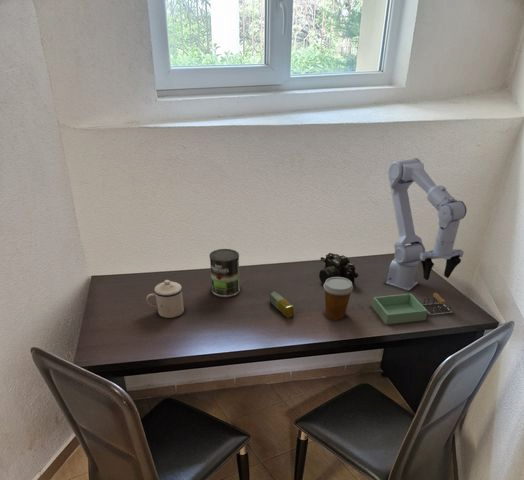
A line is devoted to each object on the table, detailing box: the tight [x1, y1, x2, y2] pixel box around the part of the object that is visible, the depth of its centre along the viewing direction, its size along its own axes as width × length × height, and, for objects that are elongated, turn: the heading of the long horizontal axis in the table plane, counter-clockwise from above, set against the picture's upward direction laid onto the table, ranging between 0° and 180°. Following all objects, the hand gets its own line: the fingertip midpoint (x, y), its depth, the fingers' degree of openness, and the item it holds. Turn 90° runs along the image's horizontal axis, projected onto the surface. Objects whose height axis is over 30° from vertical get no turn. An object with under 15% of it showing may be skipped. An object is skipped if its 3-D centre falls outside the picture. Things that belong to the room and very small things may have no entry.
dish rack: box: [421, 292, 454, 316], centre depth 157 cm, size 8×7×5 cm
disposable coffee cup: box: [322, 277, 354, 321], centre depth 152 cm, size 10×10×12 cm
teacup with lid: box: [146, 279, 185, 319], centre depth 153 cm, size 12×9×12 cm
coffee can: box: [209, 248, 241, 298], centre depth 165 cm, size 10×10×14 cm
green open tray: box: [371, 292, 428, 325], centre depth 155 cm, size 14×12×4 cm
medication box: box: [269, 290, 295, 318], centre depth 157 cm, size 12×3×4 cm, turn 28°
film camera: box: [318, 252, 359, 287], centre depth 172 cm, size 18×12×10 cm
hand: (436, 277), depth 157 cm, fingers open, 7 cm apart
